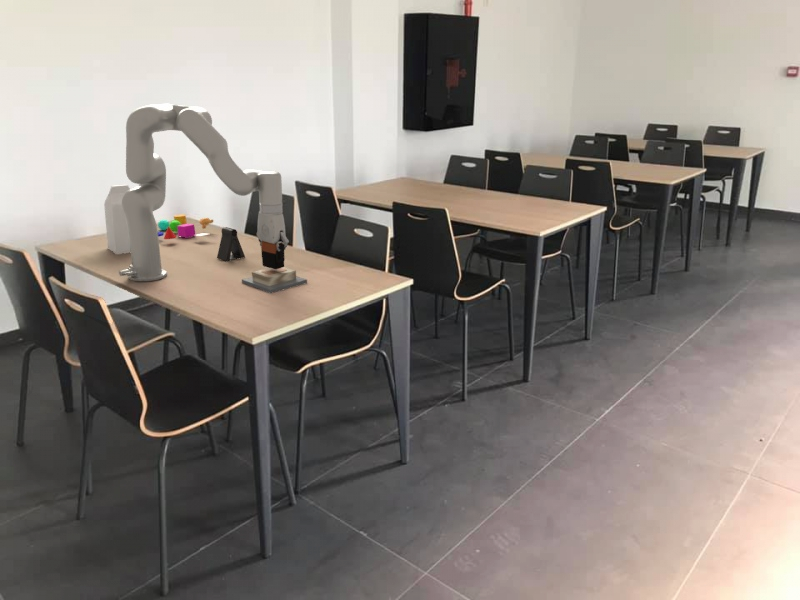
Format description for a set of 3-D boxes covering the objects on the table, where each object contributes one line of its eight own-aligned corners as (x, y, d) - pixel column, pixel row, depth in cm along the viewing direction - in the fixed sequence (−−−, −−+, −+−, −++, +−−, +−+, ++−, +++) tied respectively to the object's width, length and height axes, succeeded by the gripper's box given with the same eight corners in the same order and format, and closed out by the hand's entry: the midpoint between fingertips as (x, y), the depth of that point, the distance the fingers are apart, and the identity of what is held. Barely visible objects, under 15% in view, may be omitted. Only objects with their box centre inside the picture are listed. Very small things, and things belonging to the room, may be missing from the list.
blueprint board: (270, 293, 210) (270, 289, 210) (241, 282, 220) (241, 279, 219) (307, 282, 222) (307, 279, 221) (278, 273, 231) (277, 270, 231)
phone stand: (226, 261, 244) (223, 231, 240) (216, 258, 248) (214, 228, 244) (245, 257, 250) (243, 227, 246) (235, 254, 254) (234, 225, 250)
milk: (116, 254, 250) (108, 189, 241) (107, 248, 258) (99, 184, 249) (147, 250, 257) (140, 186, 248) (137, 244, 265) (130, 182, 256)
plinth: (268, 286, 213) (268, 277, 212) (252, 280, 219) (252, 271, 218) (296, 278, 222) (295, 269, 221) (279, 273, 227) (279, 264, 226)
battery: (276, 270, 215) (274, 241, 212) (261, 266, 219) (260, 238, 216) (284, 267, 219) (284, 239, 215) (270, 263, 222) (269, 236, 219)
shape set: (183, 228, 301) (181, 213, 299) (233, 233, 282) (231, 217, 279) (128, 239, 278) (125, 223, 276) (177, 246, 259) (174, 228, 257)
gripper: (246, 206, 215) (248, 256, 220) (278, 214, 204) (280, 266, 210) (263, 203, 220) (266, 252, 226) (296, 211, 209) (297, 262, 215)
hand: (273, 259), depth 218 cm, fingers closed on battery, 7 cm apart
